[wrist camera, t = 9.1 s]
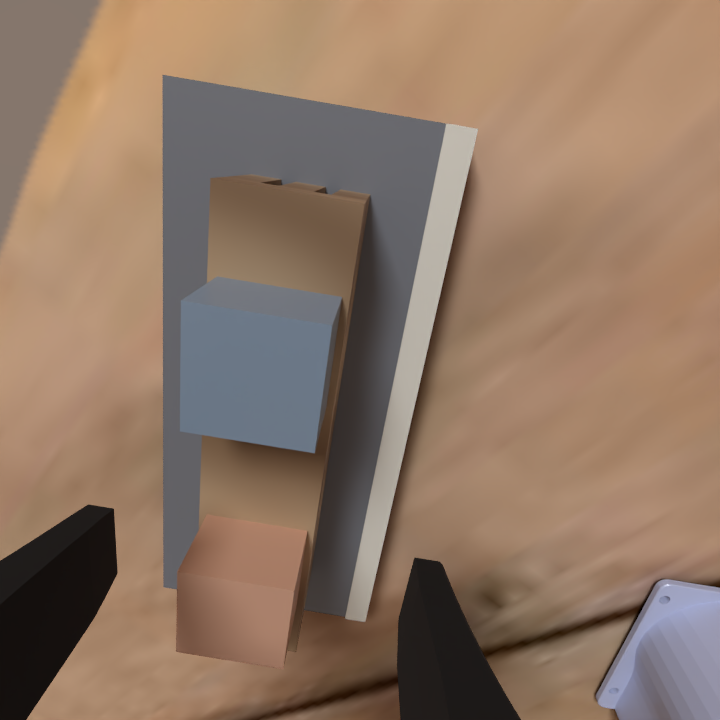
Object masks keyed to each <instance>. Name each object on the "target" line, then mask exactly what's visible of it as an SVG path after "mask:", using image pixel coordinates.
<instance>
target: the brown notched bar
mask: <svg viewBox="0 0 720 720" xmlns="http://www.w3.org/2000/svg"><path fill="white" fill-rule="evenodd" d="M325 190H326V187H323V186H317V185H312V184H306V183H300V182H293V183H289V184H284V185H281V179H276V178H270V177H264V176H259V175H253V174H250V175H239V176H228V177H217V178H210V206H209V236H208V266H207V283H208V282H210V281H211V280H213V279H214V278H216V277H217V276H218V277H224V278H230V279H236V280H242V281H248V282H254V283H260V284H266V285H272V286H278V287H284V288H291V289H297V290H303V291H309V292H315V293H321V294H327V295H333V296H339V297H342V302H341V309H340V316H339V323H338V330H337V337H336V344H335V351H334V358H333V365H332V372H331V379H330V386H329V393H328V400H327V407H326V411H325V415H324V419H323V423H322V426H321V430H320V434H319V438H318V442H317V446H316V450H315V453H310V452H304V451H298V450H292V449H285V448H279V447H273V446H267V445H261V444H255V443H249V442H242V441H236V440H230V439H224V438H218V437H212V436H205V435H202V446H201V476H200V507H199V529H200V527H201V525H202V523H203V521H204V519H205V517H206V515H207V514H208V515H214V516H220V517H226V518H232V519H238V520H244V521H251V522H257V523H263V524H269V525H275V526H281V527H287V528H293V529H299V530H305V531H307V538H306V545H305V552H304V558H303V565H302V572H301V579H300V586H299V593H298V599H297V605H296V610H295V615H294V620H293V625H292V629H291V634H290V639H289V644H288V648H287V651H293V652H296V649H297V644H298V638H299V633H300V628H301V623H302V617H303V612H304V607H305V602H306V596H307V591H308V586H309V581H310V575H311V570H312V563H313V557H314V551H315V544H316V538H317V531H318V525H319V519H320V512H321V506H322V499H323V493H324V487H325V480H326V474H327V468H328V461H329V455H330V448H331V442H332V436H333V429H334V423H335V416H336V410H337V404H338V397H339V391H340V384H341V378H342V372H343V365H344V359H345V352H346V346H347V340H348V333H349V327H350V321H351V314H352V308H353V301H354V295H355V289H356V282H357V276H358V269H359V263H360V257H361V250H362V244H363V237H364V231H365V225H366V218H367V212H368V205H369V199H370V194H365V193H359V192H353V191H347V190H339V191H337V192H335V193H333V194H332V195H330V194H325Z"/></svg>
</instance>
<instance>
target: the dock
mask: <svg viewBox="0 0 720 720" xmlns="http://www.w3.org/2000/svg"><path fill="white" fill-rule="evenodd" d="M477 132H478V129H476V128H470V127H464V126H458V125H453V124H445V123H439V122H433V121H427V120H421V119H416V118H410V117H404V116H398V115H392V114H387V113H381V112H375V111H369V110H363V109H358V108H352V107H346V106H340V105H334V104H329V103H323V102H317V101H311V100H305V99H300V98H294V97H288V96H282V95H276V94H271V93H265V92H259V91H253V90H247V89H242V88H236V87H230V86H224V85H218V84H213V83H207V82H201V81H195V80H189V79H184V78H178V77H172V76H166V75H163V545H164V587H166V588H172V589H177V571H178V569H179V567H180V565H181V563H182V561H183V560H184V558H185V556H186V554H187V552H188V550H189V548H190V546H191V544H192V542H193V540H194V538H195V536H196V534H197V533H198V531H199V507H200V476H201V446H202V435H199V434H193V433H187V432H181V431H180V354H181V300H183V299H184V298H186V297H187V296H189V295H190V294H192V293H193V292H195V291H196V290H198V289H199V288H201V287H202V286H204V285H205V284H207V266H208V236H209V206H210V178H217V177H228V176H239V175H250V174H253V175H259V176H264V177H270V178H276V179H281V185H284V184H289V183H293V182H300V183H306V184H312V185H317V186H323V187H326V190H325V194H330V195H332V194H333V193H335V192H337V191H339V190H347V191H353V192H359V193H365V194H370V199H369V205H368V212H367V218H366V225H365V231H364V237H363V244H362V250H361V257H360V263H359V269H358V276H357V282H356V289H355V295H354V301H353V308H352V314H351V321H350V327H349V333H348V340H347V346H346V352H345V359H344V365H343V372H342V378H341V384H340V391H339V397H338V404H337V410H336V416H335V423H334V429H333V436H332V442H331V448H330V455H329V461H328V468H327V474H326V480H325V487H324V493H323V499H322V506H321V512H320V519H319V525H318V531H317V538H316V544H315V551H314V557H313V563H312V570H311V575H310V581H309V586H308V591H307V596H306V602H305V607H304V610H307V611H313V612H319V613H325V614H331V615H337V616H344V617H345V619H349V620H355V621H361V622H365V621H366V616H367V612H368V608H369V603H370V599H371V595H372V590H373V586H374V581H375V577H376V573H377V568H378V564H379V560H380V555H381V551H382V547H383V542H384V538H385V533H386V529H387V525H388V520H389V516H390V512H391V507H392V503H393V498H394V494H395V490H396V485H397V481H398V477H399V472H400V468H401V464H402V459H403V455H404V450H405V446H406V442H407V437H408V433H409V429H410V424H411V420H412V415H413V411H414V407H415V402H416V398H417V394H418V389H419V385H420V381H421V376H422V372H423V367H424V363H425V359H426V354H427V350H428V346H429V341H430V337H431V333H432V328H433V324H434V319H435V315H436V311H437V306H438V302H439V298H440V293H441V289H442V284H443V280H444V276H445V271H446V267H447V263H448V258H449V254H450V250H451V245H452V241H453V236H454V232H455V228H456V223H457V219H458V215H459V210H460V206H461V201H462V197H463V193H464V188H465V184H466V180H467V175H468V171H469V167H470V162H471V158H472V153H473V149H474V145H475V140H476V136H477Z"/></svg>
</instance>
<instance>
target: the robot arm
mask: <svg viewBox="0 0 720 720" xmlns="http://www.w3.org/2000/svg"><path fill="white" fill-rule="evenodd" d="M116 575H117V557H116V539H115V522H114V509H112V508H106V507H100V506H94V505H87V506H85V507H84V508H82V509H81V510H79V511H77V512H76V513H74V514H73V515H71V516H70V517H68V518H67V519H65V520H63V521H62V522H60V523H59V524H57V525H56V526H54V527H53V528H51V529H50V530H48V531H47V532H45V533H43V534H42V535H40V536H39V537H37V538H36V539H34V540H33V541H31V542H30V543H28V544H26V545H25V546H23V547H22V548H20V549H18V550H17V551H15V552H14V553H12V554H11V555H9V556H7V557H6V558H4V559H3V560H1V561H0V720H26V719H27V718H28V716H29V715H30V713H31V712H32V710H33V709H34V707H35V706H36V704H37V703H38V701H39V700H40V698H41V697H42V695H43V694H44V692H45V691H46V689H47V688H48V686H49V685H50V683H51V682H52V681H53V679H54V678H55V676H56V675H57V673H58V672H59V670H60V669H61V667H62V666H63V664H64V663H65V661H66V660H67V658H68V657H69V655H70V654H71V652H72V651H73V649H74V648H75V646H76V645H77V643H78V642H79V640H80V639H81V637H82V636H83V634H84V633H85V631H86V630H87V628H88V627H89V625H90V624H91V622H92V621H93V619H94V617H95V616H96V614H97V612H98V610H99V608H100V606H101V605H102V603H103V601H104V599H105V597H106V595H107V593H108V591H109V589H110V587H111V585H112V583H113V581H114V579H115V577H116ZM397 671H398V686H399V702H400V716H401V720H521V719H520V717H519V716H518V714H517V713H516V711H515V709H514V708H513V706H512V704H511V703H510V701H509V699H508V698H507V696H506V694H505V692H504V691H503V689H502V687H501V685H500V684H499V682H498V680H497V678H496V677H495V675H494V673H493V671H492V669H491V668H490V666H489V664H488V662H487V660H486V658H485V656H484V654H483V652H482V650H481V649H480V647H479V645H478V643H477V641H476V639H475V637H474V635H473V633H472V631H471V629H470V627H469V625H468V622H467V620H466V618H465V616H464V614H463V612H462V610H461V607H460V605H459V603H458V601H457V598H456V596H455V594H454V592H453V589H452V587H451V584H450V582H449V580H448V577H447V575H446V572H445V569H444V567H443V565H442V564H441V563H440V562H438V561H432V560H426V559H420V558H414V561H413V565H412V569H411V573H410V577H409V581H408V585H407V588H406V592H405V596H404V600H403V604H402V608H401V612H400V616H399V623H398V653H397ZM596 699H597V702H598V704H599V705H600V706H602V707H605V708H611V709H615V711H616V713H617V716H618V718H619V720H720V588H718V587H712V586H706V585H699V584H693V583H687V582H681V581H675V580H669V579H664V580H660V581H659V582H657V583H656V585H655V586H654V588H653V590H652V592H651V594H650V596H649V597H648V599H647V601H646V603H645V605H644V607H643V609H642V610H641V612H640V614H639V616H638V618H637V620H636V622H635V623H634V625H633V627H632V629H631V631H630V633H629V635H628V636H627V638H626V640H625V642H624V644H623V646H622V648H621V649H620V651H619V653H618V655H617V657H616V659H615V661H614V662H613V664H612V666H611V668H610V670H609V672H608V674H607V675H606V677H605V679H604V681H603V683H602V685H601V687H600V689H599V690H598V692H597V694H596Z"/></svg>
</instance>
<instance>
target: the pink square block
mask: <svg viewBox="0 0 720 720" xmlns="http://www.w3.org/2000/svg"><path fill="white" fill-rule="evenodd" d="M306 538H307V531H305V530H299V529H293V528H287V527H281V526H275V525H269V524H263V523H257V522H251V521H244V520H238V519H232V518H226V517H220V516H214V515H208V514H207V515H206V517H205V519H204V521H203V523H202V525H201V527H200V529H199V531H198V533H197V534H196V536H195V538H194V540H193V542H192V544H191V546H190V548H189V550H188V552H187V554H186V556H185V558H184V560H183V561H182V563H181V565H180V567H179V569H178V571H177V634H176V652H181V653H187V654H193V655H199V656H205V657H212V658H218V659H224V660H230V661H236V662H242V663H249V664H255V665H261V666H267V667H273V668H280V669H283V668H284V663H285V658H286V653H287V648H288V644H289V639H290V634H291V629H292V625H293V620H294V615H295V610H296V605H297V599H298V593H299V586H300V579H301V572H302V565H303V558H304V552H305V545H306Z"/></svg>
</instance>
